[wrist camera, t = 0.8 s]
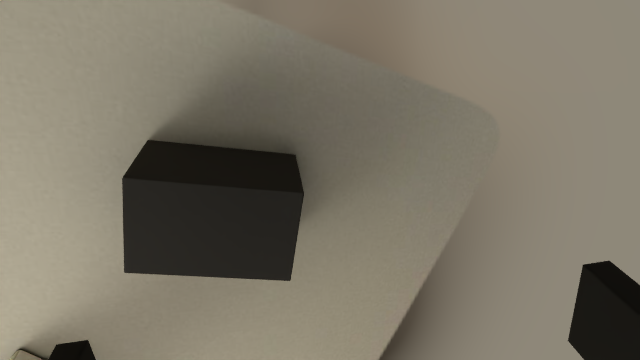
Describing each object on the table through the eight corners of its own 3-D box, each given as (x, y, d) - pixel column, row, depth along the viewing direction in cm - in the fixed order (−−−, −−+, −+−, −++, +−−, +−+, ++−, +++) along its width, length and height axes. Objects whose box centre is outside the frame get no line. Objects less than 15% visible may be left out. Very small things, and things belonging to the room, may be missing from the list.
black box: (147, 139, 24) (121, 177, 20) (295, 154, 25) (304, 192, 21) (147, 221, 26) (124, 273, 21) (284, 230, 27) (290, 281, 23)
